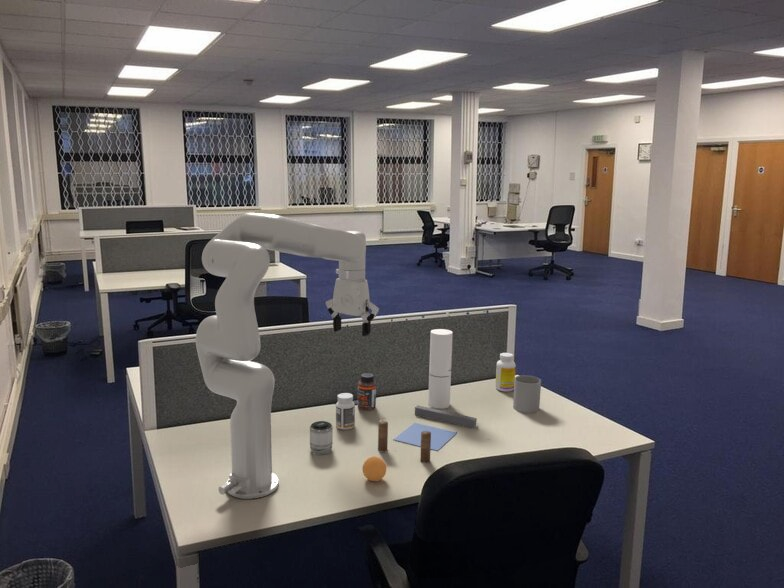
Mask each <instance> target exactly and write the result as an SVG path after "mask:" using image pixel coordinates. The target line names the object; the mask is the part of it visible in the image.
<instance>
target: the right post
mask: <svg viewBox="0 0 784 588" xmlns="http://www.w3.org/2000/svg"><path fill="white" fill-rule="evenodd" d="M430 448H431V432H429V431H422V432H421V447H420V462H421V463H423V464H428V463H430V462H431V449H430Z"/></svg>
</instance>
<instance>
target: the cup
mask: <svg viewBox="0 0 784 588" xmlns="http://www.w3.org/2000/svg"><path fill="white" fill-rule="evenodd" d="M541 388H542V379H541V378H539V377H537V376H534V375H521V374H520V375H518V376H515V384H514V390H513V403H512V407H513V409H514V410H515V411H516V412H519V413H522V414H535V413H538V412H539V411H540V403H541V391H542V389H541Z"/></svg>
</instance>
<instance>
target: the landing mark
mask: <svg viewBox="0 0 784 588" xmlns="http://www.w3.org/2000/svg"><path fill="white" fill-rule="evenodd" d="M422 431H429V432H431V448H430V451H431V450H432V451H435V452H438V451H440V450H441V449H442V448H443V447H444V446H445V445H446V444H447V443H448V442H449V441H451V439H452V438H454V437H455V435H457V434H458V432H457V431H452V430H448V429H444V428H440V427H435V426H431V425H426V424H423V423H417V422H414V423H412V424H411V425H410V426H408V427H407V428H406V429H405V430H403V431H402V432H401V433H400V434H399V435H397V436H395V437H394V438H393V441H395V442H399V443H404V444H407V445H412V446H415V447H420V448H421V432H422Z"/></svg>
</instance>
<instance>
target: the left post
mask: <svg viewBox="0 0 784 588" xmlns="http://www.w3.org/2000/svg"><path fill="white" fill-rule="evenodd" d="M377 425H378V426H377V428H378V429H377V431H378V434H377V436H378V437H377V438H378V440H377V450H378V452H381V453H385V452H387V451H388V444H389V443H388V439H389V438H388V436H389V434H388V432H389V428H388V427H389V422H388V421H386V420H379V421H378V424H377Z"/></svg>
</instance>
